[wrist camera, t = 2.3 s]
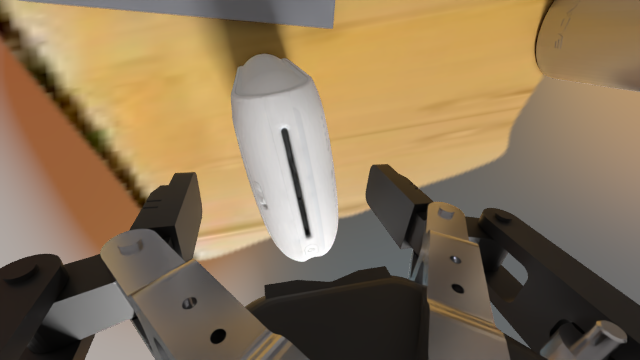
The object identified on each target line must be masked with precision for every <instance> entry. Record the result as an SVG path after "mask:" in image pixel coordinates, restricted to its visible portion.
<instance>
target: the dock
mask: <svg viewBox="0 0 640 360" xmlns="http://www.w3.org/2000/svg"><path fill="white" fill-rule="evenodd" d="M20 1H27V2H36V3H47V4H59V5H70V6H81V7H92V8H103V9H114V10H125V11H137V12H148V13H159V14H170V15H181V16H192V17H204V18H215V19H226V20H237V21H248V22H259V23H271V24H282V25H293V26H304V27H315V28H326V29H333V20H334V8H335V0H20Z"/></svg>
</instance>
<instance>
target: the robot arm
mask: <svg viewBox="0 0 640 360" xmlns="http://www.w3.org/2000/svg"><path fill="white" fill-rule="evenodd" d="M536 58H537V64H538V66H539V68H540V70H541V72H542V73H543V74H544V75H545V76H547V77H550V78H553V79H559V80H565V81H572V82H579V83H586V84H592V85H598V86H605V87H611V88H618V89H624V90H631V91H638V92H640V0H555V1H554V2H553V4H552V5H551V7H550V8H549V10H548V12H547V14H546V16H545V19H544V21H543V23H542V26H541V29H540V32H539V35H538V40H537V45H536ZM366 201H367V203H368V205H369V206H370V208H371V209H372V211H373V212H374V213H375V215H376V216H377V217H378V219H379V220H380V221H381V223H382V224H383V226H384V227H385V228H386V230H387V231H388V232H389V234H390V235H391V237H392V238H393V240H394V241H395V242H396V244H397V245H398V246H399V248H400V249H406V248H413V252H412V255H411V260H410V268H409V275H408V279H406V278H403V277H398V276H391V275H390V273H389V272H388V270H387V268H386V267H385V266H384V267H377V268H371V269H364V270H358V271H356V272H353V273H351V274H349V275H347V276H344V277H342V278H340V279H337V280H335V281H333V282H321V281H304V280H295V281H288V282H282V283H276V284H269V285H265V296H263V297H261V298H259V299H257V300H255V301H253V302H251V303H250V304H248V305H247V306H246V307H244V306H243V305H242V304H241V303H240V302H239V301H238V300H237V299H236V298H235V297H234V296H233V295H232V294H231V293H230V292H229V291H227V290H226V289H225V288H224V287H223V286H222V285H221V284H220V283H219V282H218V281H217V280H216V279H215V278H214V277H213V276H212V275H211V274H210V273H209V272H208V271H207V270H206V269H205V268H203V267H202V266H201V265H200V264H199V263H198V262H197V261H196V260H194V259H192V258H193V254H194V250H195V245H196V241H197V236H198V232H199V228H200V223H201V219H202V203H201V197H200V191H199V186H198V180H197V175H196V173H195V172H189V173H175V174H174V176H173V178H172V180H171V182H170V184H169V185H163V186H160V187H158V188H157V189H156V190H154V191H153V192H152V193H151V194H150V196H149V197H148V199H147V201H146V203H145V204H144V206H143V209H141V211H140V213H139V214H138V216H137V218H136V220H135V222H134V223H133V225H132V227H131V228H130V230H129V231H127V232H124V233H121V234H119V235H117V236H115V237H113V238H112V239H111V240H109V241H108V242H107V243H106V244H105V245H104V246H103V247H102V249H101V252H100V254H98V255H95V256H93V257H89V258H86V259H82V260H79V261H75V262H72V263H68V264H65V265H63V263H62V261H61V259H60V258H59V257H58V256H56V255H53V254H38V255H33V256H29V257H25V258H22V259H19V260H17V261H14V262H12V263H10V264H8V265H6V266H4V267H2V268H0V360H85V357H86V355H87V353H88V350H89V348H90V345H91V343H92V341H93V338H94V336H95V334H96V333H98V332H100V331H102V330H105V329H107V328H109V327H112V326H114V325H117V324H119V323H121V322H124V321H126V320H129V319H130V320H131V322H132V324H133V325H134V327H135V328H136V330H137V332H138V333H139V335H140V336H141V338H142V340H143V341H144V342H145V344H146V346H147V347H148V349H149V350H150V352H151V354H152V355H153V357H154V358H155V360H640V305H638V304H637V303H635V302H634V301H633V300H631V299H630V298H629V297H627V296H625V295H624V294H623V293H622V292H620V291H619V290H618V289H616V288H615V287H613V286H612V285H610V284H609V283H608V282H606V281H605V280H604V279H602V278H601V277H599V276H598V275H597V274H595V273H594V272H592V271H591V270H589V269H588V268H587V267H585V266H584V265H583V264H581V263H580V262H578V261H577V260H576V259H574V258H573V257H572V256H570V255H569V254H567V253H566V252H565V251H563V250H562V249H560V248H559V247H558V246H556V245H555V244H553V243H552V242H551V241H549V240H548V239H547V238H545V237H544V236H542V235H541V234H540V233H538V232H537V231H535V230H534V229H533V228H531V227H530V226H528V225H527V224H525V223H524V222H523V221H521V220H520V219H519V218H517V217H516V216H514V215H513V214H511V213H508V212H506V211H503V210H500V209H496V208H487V209H484V211H483V212H482V214H481V217H480V218H474V217H465V215H464V213H463V212H462V211H461V210H460V209H458V208H457V207H455V206H453V205H450V204H447V203H443V202H433V201H432V200H431V199H430V198H429V197H428V196H427V195H425V194H424V193H423V192H422V191H421V190H420V189H418V187H417V186H415V185H413V183H412V182H411V181H410V180H409V179H408V178H406V177H404V176H402V175H400V174H398V173H397V172H396V171H395V170H394V169H393V168H392V167H391V166H389V165H388V164H381V165H372V166H371V168H370V173H369V178H368V183H367V188H366ZM508 252H509V253H510V254H511V255H512V256H513V257H514V258H515V259H516V260H518V261H519V262H520V263H521V264H522V265H523V266H524V267H525V268H526V270H527V272H528V280H527V282H526V283H525V285H524V286H523V285H521V283H520V282H518V281H517V280H516V279H515V278H514V277H513V276H512V275H511V274H510V273H509V272H508V271H507V270H506V269H505V268H504V267H503V266H502V265H501V264H502V262H503V260H504V259H505V257H506V255H507V254H508ZM490 301H491V302H492V303H493V305H494V306H495V307H496V308H497V309H498V311H499V312H500V313H501V314H502V315H503V317H504V318H505V319H506V320H507V321H508V322H509V323H510V325H511V326H512V327H513V328H514V329H515V331H516V332H517V333H518V334H519V335H520V336H521V338H522V339H523V340H524V341H525V342H526V343H527V344H528V346H529V347H530V348H531V349H532V350H531V349H530V348H528V347H526V346H525V345H523V344H521V343H520V342H518V341H516V340H514V339H513V338H511V337H509V336H507V335H506V334H504V333H503V332H501V330H499V329H498V328H497V327H496V326H495V323H494V318H493V313H492V308H491V304H490Z"/></svg>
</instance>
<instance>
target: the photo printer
mask: <svg viewBox="0 0 640 360" xmlns="http://www.w3.org/2000/svg"><path fill="white" fill-rule="evenodd" d="M231 105H232V118H233V124H234V128H235V133H236V136H237V140H238V144H239V148H240V152H241V156H242V159H243V163H244V166H245V169H246V173H247V176H248V179H249V182H250V185H251V189H252V191H253V194H254V197H255V200H256V203H257V206H258V208H259V211H260V213H261V216H262V219H263V221H264V223H265V226H266V228H267V230H268V232H269V235H270V236H271V237H272V239H273V241H274V242H275V243H276V245H277V246H278V248H279V249H280V250H281V251H282V252H283V253H284V254H285V255H286V256H288V257H289V258H291V259H293V260H296V261H300V262H303V261H306V260H308V259H310V258H312V257H316V256H323V255H324V254H326V253H327V252H328V251H329V249H330V248H331V246H332V245H333V243H334V240H335V237H336V233H337V227H338V201H337V189H336V180H335V172H334V165H333V158H332V152H331V145H330V140H329V134H328V129H327V124H326V119H325V114H324V110H323V106H322V103H321V100H320V97H319V94H318V91H317V89H316V86H315V84H314V82H313V80H312V78H311V77H310V76H309V75H308V74H307V73H305V72H304V71H303V70H301V69H300V68H299V67H298V66H296V65H295V64H294V63H292V62H291V61H290V60H288V59H287V58H283V59H279V58H278V57H276V56H274V55H270V54H259V55H255V56H253V57H251V58H250V59H249V60H248V61H247V62H246V63H245V64H244V66H239V67H238V68H237V73H236V77H235V81H234V84H233V89H232V92H231Z"/></svg>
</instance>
